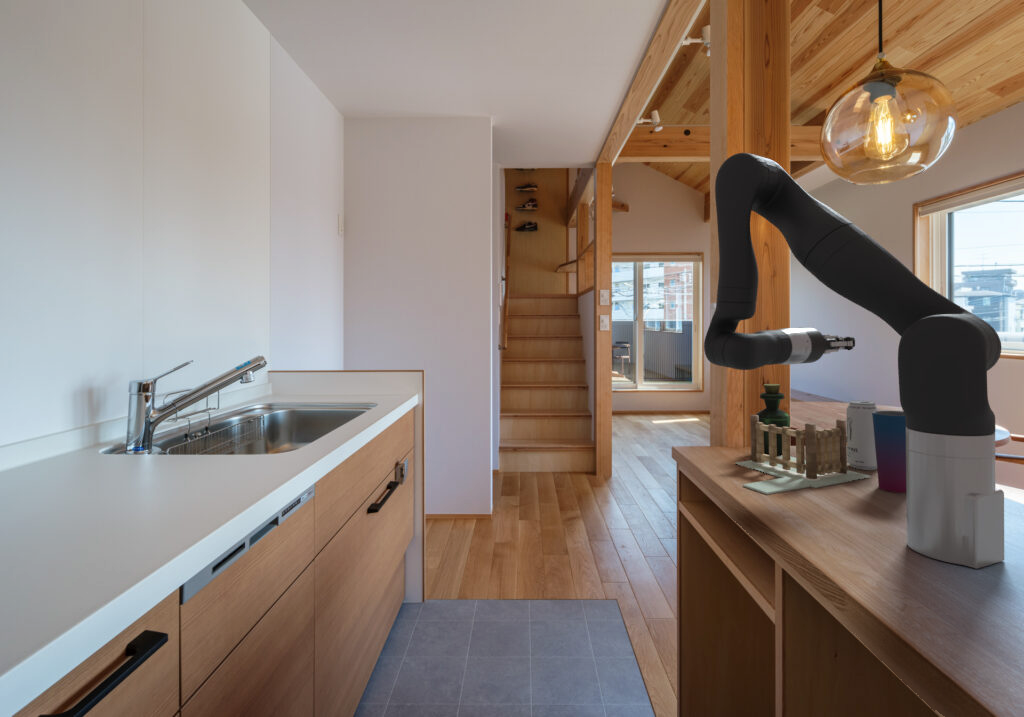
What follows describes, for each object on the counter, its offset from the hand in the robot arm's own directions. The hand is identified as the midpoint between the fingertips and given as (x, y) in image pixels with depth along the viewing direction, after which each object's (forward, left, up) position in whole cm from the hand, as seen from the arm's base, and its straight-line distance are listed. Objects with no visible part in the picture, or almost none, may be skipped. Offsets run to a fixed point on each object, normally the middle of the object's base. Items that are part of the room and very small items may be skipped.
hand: (851, 342), depth 106 cm
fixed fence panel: (0, +8, -29) cm, 30 cm away
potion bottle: (+21, 0, -29) cm, 36 cm away
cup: (-11, +4, -29) cm, 31 cm away
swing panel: (+8, +13, -28) cm, 32 cm away
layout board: (+6, +15, -29) cm, 33 cm away
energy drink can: (+2, -6, -29) cm, 30 cm away
